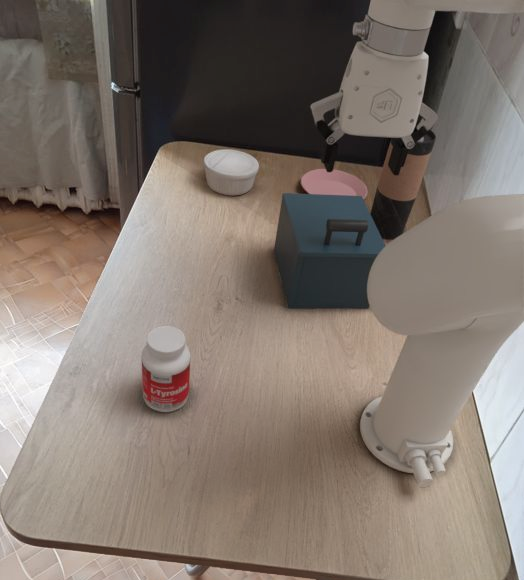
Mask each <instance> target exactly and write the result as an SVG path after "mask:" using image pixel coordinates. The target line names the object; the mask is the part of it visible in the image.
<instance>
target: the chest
mask: <svg viewBox="0 0 524 580" xmlns="http://www.w3.org/2000/svg"><path fill="white" fill-rule="evenodd" d="M278 214H279V217H278V221H277V228H276V233H275V239H274V240H275V241H274V246H273V253H274V257H275V258H274V259H275V262H276V265H277V269H278V274H279V277H280V282H281V286H282V289H283V294H284V298H285V303H286V306H287V309H370V305H369V302H368V296H367V282H368V276H369V273H370V270H371V267H372V265H373V262H374V260H375V259H376V258H364V257H305V256H300V255H299V252H298V249H297V245H296V242H295V238H294V235H293V232H292V228H291V225H290V222H289V218H288V215H287V211H286V208H285V205H284V201H283V198H282V197H281V202H280V209H279V213H278Z"/></svg>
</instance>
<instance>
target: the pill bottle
mask: <svg viewBox="0 0 524 580" xmlns="http://www.w3.org/2000/svg"><path fill="white" fill-rule="evenodd" d="M140 359H141V380H142V381H141V383H142V398H143V401H144V403H145V404H146V405H147V407H149V408H150V409H152V410H153V411H157V412H160V413H171V412H175V411H177V410H179V409H182V408H183V407H184V406H185V405H186V404H187V402H188V399H189V395H190V381H191V379H190V378H191V351H190V349H189V347H188V346H187V344H186V336H185V334H184V332H183V331H182V330H181V329H179V328H177V327H175V326H172V325H161V326H157V327H154V328H153V329H151V330H150V331H149V332H148V334H147V336H146V345H144V347H143V349H142V352H141V358H140Z"/></svg>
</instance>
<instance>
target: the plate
mask: <svg viewBox="0 0 524 580" xmlns="http://www.w3.org/2000/svg"><path fill="white" fill-rule="evenodd" d="M300 185H301V187H302V188H303V190H304V191H305V192H306V194H321V195H348V196H362V198H363V200H365V198H366V197H367V196H368V187H367V186H366V184H365V183H364V182H363V181H362V180H361V179H360V178H358V177H357V176H355V175H353V174H351V173H349V172H346V171H343V170H339V169H334V168H333V171H332V172H327V171H326V168H318V169H317V168H316V169H313V170H309V171H307V172H305V173H304V174H303V175H302V176H301V178H300Z"/></svg>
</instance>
